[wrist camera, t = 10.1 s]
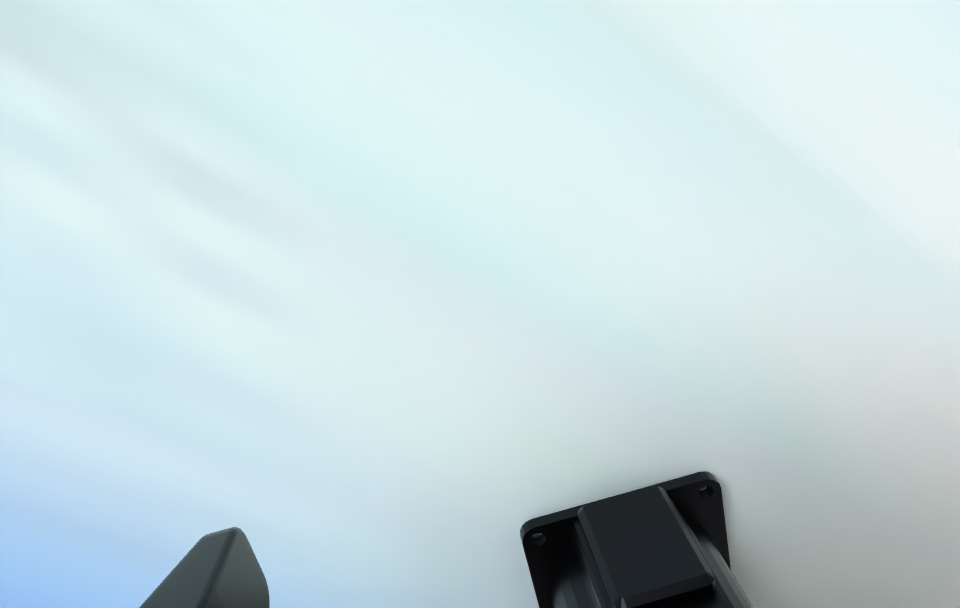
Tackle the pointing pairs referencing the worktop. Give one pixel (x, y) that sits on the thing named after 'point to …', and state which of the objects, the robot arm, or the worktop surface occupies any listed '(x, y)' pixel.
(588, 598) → the robot arm
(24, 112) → the worktop surface
